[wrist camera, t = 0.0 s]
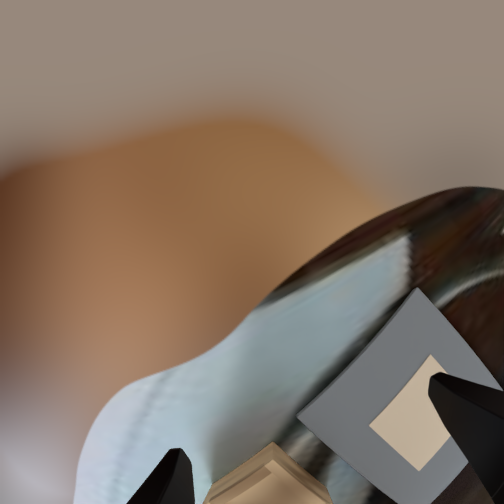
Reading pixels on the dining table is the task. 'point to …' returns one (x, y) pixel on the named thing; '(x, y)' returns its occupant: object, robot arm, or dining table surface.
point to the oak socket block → (268, 482)
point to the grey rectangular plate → (398, 404)
